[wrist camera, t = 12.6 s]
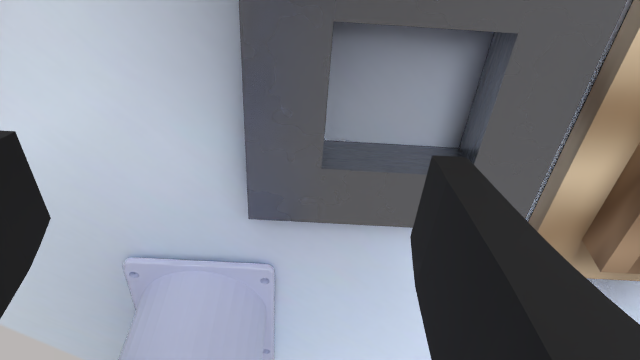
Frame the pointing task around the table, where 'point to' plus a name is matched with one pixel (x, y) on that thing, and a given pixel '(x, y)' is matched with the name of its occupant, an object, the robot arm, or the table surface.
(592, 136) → the rack board
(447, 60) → the table surface
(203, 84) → the table surface
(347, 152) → the socket
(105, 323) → the table surface
